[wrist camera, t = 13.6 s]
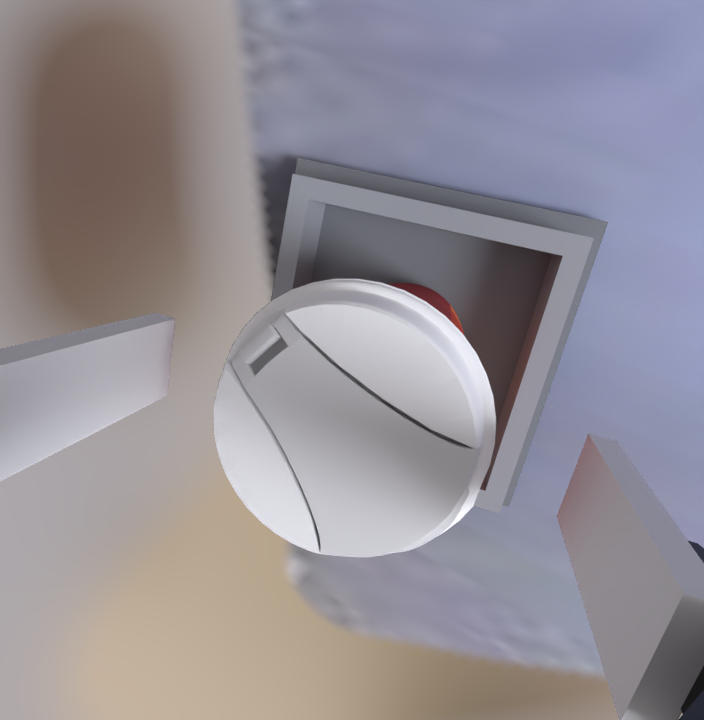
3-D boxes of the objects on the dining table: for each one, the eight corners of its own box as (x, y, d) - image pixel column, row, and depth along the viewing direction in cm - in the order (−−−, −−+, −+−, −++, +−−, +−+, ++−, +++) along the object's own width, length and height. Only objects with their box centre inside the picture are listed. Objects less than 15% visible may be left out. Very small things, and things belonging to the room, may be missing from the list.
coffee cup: (306, 326, 28) (141, 410, 14) (416, 228, 26) (350, 209, 12) (399, 437, 29) (328, 628, 14) (518, 351, 26) (574, 480, 12)
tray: (303, 160, 27) (276, 147, 23) (602, 222, 25) (626, 219, 21) (258, 421, 32) (229, 445, 28) (507, 497, 29) (512, 536, 25)
